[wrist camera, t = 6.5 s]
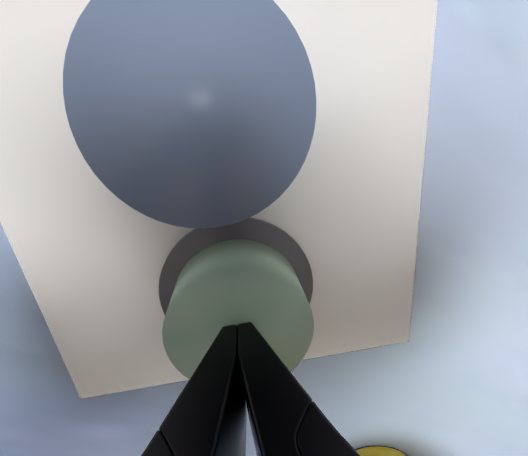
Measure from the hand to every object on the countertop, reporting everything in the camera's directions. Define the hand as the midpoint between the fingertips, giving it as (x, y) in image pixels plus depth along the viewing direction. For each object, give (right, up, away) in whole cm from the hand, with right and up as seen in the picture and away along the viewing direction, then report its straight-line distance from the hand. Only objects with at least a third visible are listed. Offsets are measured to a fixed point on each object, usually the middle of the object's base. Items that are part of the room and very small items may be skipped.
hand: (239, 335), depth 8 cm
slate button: (-1, +6, -1) cm, 6 cm away
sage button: (0, +1, +2) cm, 2 cm away
